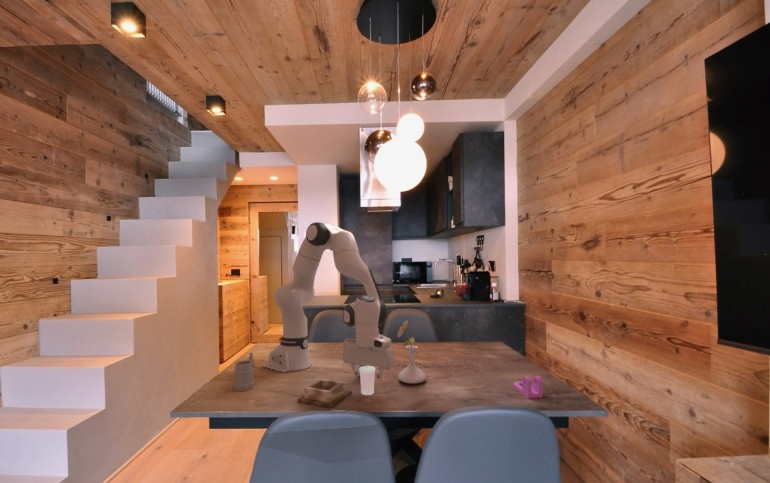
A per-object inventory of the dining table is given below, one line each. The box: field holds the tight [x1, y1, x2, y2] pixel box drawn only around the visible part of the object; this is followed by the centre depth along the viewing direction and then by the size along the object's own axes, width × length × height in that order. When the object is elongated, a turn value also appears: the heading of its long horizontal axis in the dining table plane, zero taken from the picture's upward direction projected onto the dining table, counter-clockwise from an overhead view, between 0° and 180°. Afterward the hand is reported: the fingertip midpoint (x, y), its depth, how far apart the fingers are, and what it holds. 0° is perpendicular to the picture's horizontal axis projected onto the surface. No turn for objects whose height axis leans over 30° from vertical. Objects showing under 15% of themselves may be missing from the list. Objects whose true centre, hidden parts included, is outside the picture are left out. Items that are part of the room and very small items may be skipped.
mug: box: [232, 352, 256, 392], centre depth 140 cm, size 8×12×12 cm, turn 174°
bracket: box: [513, 375, 544, 399], centre depth 131 cm, size 13×6×7 cm, turn 7°
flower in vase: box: [396, 320, 427, 385], centre depth 143 cm, size 13×11×25 cm
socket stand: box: [296, 378, 353, 409], centre depth 127 cm, size 14×14×4 cm
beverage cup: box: [359, 366, 376, 396], centre depth 132 cm, size 6×6×14 cm
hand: (368, 376), depth 132 cm, fingers open, 8 cm apart
